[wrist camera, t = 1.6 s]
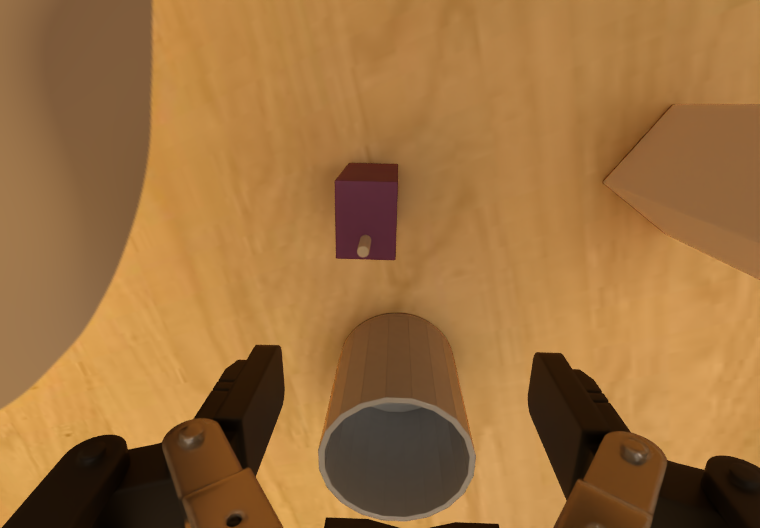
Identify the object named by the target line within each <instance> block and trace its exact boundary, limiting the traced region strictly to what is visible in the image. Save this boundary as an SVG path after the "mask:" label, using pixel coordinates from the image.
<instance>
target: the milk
mask: <svg viewBox="0 0 760 528" xmlns="http://www.w3.org/2000/svg"><path fill="white" fill-rule="evenodd" d="M603 183H604V184H605V185H606V186H608V187H609V188H610V189H611V190H612V191H614V192H615V193H616V194H617V195H619V196H620V197H621V198H622V199H623V200H625V201H626V202H627V203H628V204H630V205H631V206H632V207H633V208H634V209H636V210H637V211H638V212H639V213H641V214H642V215H643V216H644V217H645V218H647V219H648V220H649V221H650V222H652V223H653V224H654V225H655V226H656V227H658V228H659V229H660V230H661V231H663V232H664V233H665V234H667V235H669V236H671V237H673V238H675V239H677V240H679V241H681V242H683V243H685V244H687V245H689V246H691V247H693V248H695V249H697V250H699V251H701V252H704V253H706V254H708V255H710V256H712V257H714V258H716V259H718V260H720V261H722V262H724V263H726V264H728V265H730V266H732V267H734V268H736V269H738V270H740V271H742V272H745V273H747V274H749V275H751V276H753V277H755V278H757V279H759V280H760V104H674V105H672V106H671V107H670V109H669V110H668V111H667V112H666V113H665V114H664V115H663V116H662V117H661V118H660V120H659V121H658V122H657V123H656V124H655V125H654V126H653V127H652V128H651V129H650V131H649V132H648V133H647V134H646V135H645V136H644V137H643V138H642V139H641V141H640V142H639V143H638V144H637V145H636V146H635V147H634V148H633V149H632V150H631V152H630V153H629V154H628V155H627V156H626V157H625V158H624V159H623V160H622V161H621V163H620V164H619V165H618V166H617V167H616V168H615V169H614V170H613V171H612V172H611V174H610V175H609V176H608V177H607V178H606V179H605V180H604V182H603Z"/></svg>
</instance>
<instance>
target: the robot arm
mask: <svg viewBox="0 0 760 528" xmlns="http://www.w3.org/2000/svg"><path fill="white" fill-rule="evenodd" d="M284 391H285V387H284V374H283V362H282V350H281V347H280V346H279V345H256V346H255V347H254V348H253V350H252V352H251V354H250V355H249V357H248V359H247V360H237V361H236V362H235V363H233V364H232V365H231V366H229V367H228V368H226V369H225V371H224V372H223V374H222V376H221V377H220V379H219V382H217V383H216V385H215V386H214V388H213V391H211V393H210V394H209V396H208V397H207V399H206V400H205V402H204V403H203V405H202V407H201V408H200V410H199V411H198V413H197V414H196V416H195V417H194V419H192V420H189V421H185V422H183V423H181V424H179V425H177V426H175V427H174V428H172V429H171V430H170V431H169V432H168V433H167V434H166V435H165V437H164V439H163V441H162V443H158V444H154V445H149V446H144V447H139V448H134V449H129V450H128V449H127V444H126V441H125V440H124V439H123V438H122V437H120V436H117V435H102V436H97V437H93V438H91V439H88V440H86V441H83V442H81V443H80V444H78V445H76V446H75V447H73V448H72V449H70V450H69V451H68V452H67V453H66V454H65V455H64V456H63V457H62V458H61V460H60V461H59V462H58V463H57V464H56V465H55V466H54V468H53V469H52V470H51V471H50V472H49V473H48V475H47V476H46V477H45V478H44V479H43V480H42V482H41V483H40V484H39V485H38V486H37V487H36V489H35V490H34V491H33V492H32V493H31V494H30V495H29V497H28V498H27V499H26V500H25V501H24V502H23V504H22V505H21V506H20V507H19V508H18V509H17V511H16V512H15V513H14V514H13V515H12V516H11V518H10V519H9V520H8V521H7V522H6V523H5V524H4V526H3V527H2V528H283V526H282V524H281V522H280V521H279V519H278V517H277V515H276V513H275V511H274V510H273V508H272V506H271V504H270V502H269V500H268V499H267V497H266V495H265V493H264V491H263V490H262V488H261V486H260V484H259V482H258V480H257V479H256V474H257V472H258V469H259V467H260V464H261V461H262V459H263V456H264V453H265V451H266V448H267V445H268V443H269V440H270V438H271V435H272V432H273V430H274V427H275V424H276V422H277V419H278V416H279V414H280V411H281V408H282V405H283V401H284ZM528 407H529V412H530V415H531V418H532V420H533V423H534V425H535V427H536V430H537V432H538V434H539V437H540V439H541V441H542V444H543V446H544V448H545V451H546V453H547V456H548V458H549V460H550V463H551V465H552V467H553V470H554V472H555V474H556V477H557V479H558V481H559V484H560V486H561V488H562V491H563V493H564V495H565V498H566V500H567V502H566V504H565V506H564V508H563V510H562V512H561V514H560V516H559V517H558V519H557V521H556V523H555V525H554V527H553V528H760V468H759V467H757V466H756V465H753V464H751V463H749V462H747V461H744V460H742V459H738V458H735V457H731V456H714V457H711V458H710V459H709V460H708V461H707V464H706V467H705V470H702V469H698V468H694V467H690V466H686V465H682V464H678V463H675V462H671V461H668V460H667V458H666V456H665V454H664V453H663V451H662V450H661V449H660V448H659V447H658V446H657V445H656V444H654V443H653V442H651V441H650V440H648V439H646V438H644V437H642V436H640V435H637V434H634V433H631V432H630V430H629V429H628V428H627V426H626V425H625V423H624V422H623V421H622V419H621V418H620V416H619V415H618V414H617V412H616V411H615V409H614V408H613V406H612V405H611V404H610V403H608V399H607V398H606V397H605V395H604V394H603V393H602V391H601V389H600V388H599V387H598V385H597V384H596V382H595V381H594V380H593V379H592V378H591V377H589V376H588V375H586V374H585V373H584V372H582V371H581V370H578V369H572V368H571V366H570V365H569V363H568V362H567V360H566V359H565V357H564V356H563V355H562V354H561V353H540V352H537V353H535V355H534V358H533V364H532V370H531V377H530V384H529V391H528ZM324 528H398V527H394V526H391V525H387V524H384V523H380V522H377V521H373V520H369V519H352V518H326V520H325V526H324ZM431 528H499V524H485V523H458V522H455V523H450V524H446V525H441V526H436V527H431Z"/></svg>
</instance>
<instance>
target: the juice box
mask: <svg viewBox="0 0 760 528" xmlns="http://www.w3.org/2000/svg"><path fill="white" fill-rule="evenodd" d="M397 196H398V164H375V163H349V164H348V165H347V166H346V167H345V169H344V170H343V171H342V172H341V174H340V175H339V176H338V177H337V179H336V180H335V227H336V258H338V259H371V260H395V257H396V226H397Z"/></svg>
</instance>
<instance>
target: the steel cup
mask: <svg viewBox="0 0 760 528" xmlns="http://www.w3.org/2000/svg"><path fill="white" fill-rule="evenodd" d="M318 456H319V470H320V473H321V475H322V477H323V479H324V482H325V484H326V486H327V488H328V489H329V490H330V491H331V492H332V493H333V494H334V495H335V497H336V498H337V499H338V500H339V501H340V502H342V503H343V504H344V505H346V506H348V507H349V508H351V509H353V510H354V511H356V512H358V513H360V514H362V515H366V516H369V517H373V518H376V519H379V520H386V521H411V520H416V519H421V518H426V517H430V516H432V515H434V514H436V513H438V512H440V511H442V510H444V509H446V508H448V507H450V506H451V505H452V504H453V503H454V502H455V501H456V500H457V499H458V498H460V497H461V496H462V495H463V494H464V493H465V491H466V489H467V487H468V485H469V484H470V482H471V480H472V478H473V476H474V469H475V460H476V454H475V450H474V445H473V441H472V436H471V432H470V427H469V423H468V419H467V414H466V410H465V405H464V401H463V396H462V392H461V387H460V383H459V378H458V374H457V369H456V365H455V361H454V357H453V353H452V350H451V347H450V345H449V343H448V341H447V339H446V338H445V336H444V335H443V334H442V333H441V331H440V330H439V329H437V328H436V327H435V326H434V325H432V324H431V323H429V322H428V321H426V320H424V319H422V318H419V317H416V316H414V315H409V314H402V313H390V314H383V315H379V316H376V317H373V318H371V319H369V320H367V321H365V322H363V323H362V324H360V325H359V326H358V327H356V328H355V329H354V330H353V331H352V332H351V334H350V335H349V336H348V338H347V339H346V341H345V343H344V345H343V348H342V351H341V354H340V357H339V361H338V365H337V370H336V374H335V379H334V383H333V387H332V392H331V396H330V401H329V405H328V409H327V414H326V418H325V423H324V427H323V431H322V436H321V440H320V445H319V449H318Z"/></svg>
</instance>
